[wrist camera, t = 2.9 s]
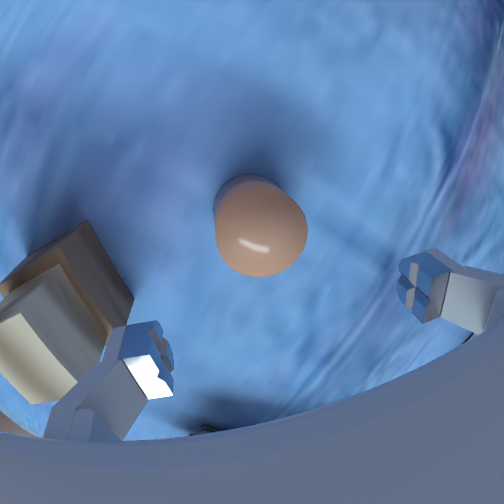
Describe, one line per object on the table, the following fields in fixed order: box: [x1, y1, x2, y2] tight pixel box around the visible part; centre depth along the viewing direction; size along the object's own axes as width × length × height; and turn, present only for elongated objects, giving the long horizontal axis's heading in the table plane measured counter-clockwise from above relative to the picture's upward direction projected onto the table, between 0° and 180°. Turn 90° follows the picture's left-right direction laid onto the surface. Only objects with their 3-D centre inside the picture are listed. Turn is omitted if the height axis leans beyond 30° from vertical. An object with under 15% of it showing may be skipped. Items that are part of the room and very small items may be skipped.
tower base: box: [0, 220, 134, 345], centre depth 18 cm, size 7×7×5 cm
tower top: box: [0, 263, 108, 405], centre depth 13 cm, size 6×6×5 cm
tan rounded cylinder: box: [213, 174, 308, 277], centre depth 18 cm, size 5×5×5 cm
